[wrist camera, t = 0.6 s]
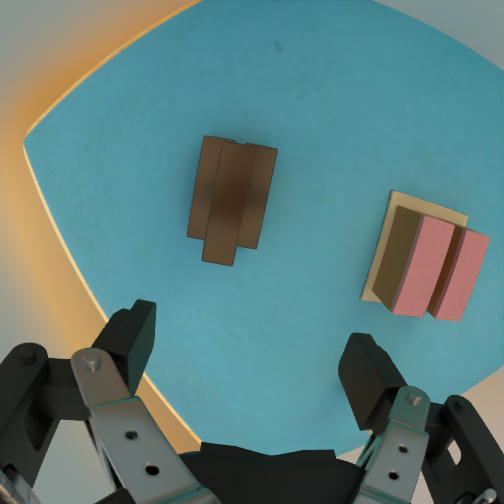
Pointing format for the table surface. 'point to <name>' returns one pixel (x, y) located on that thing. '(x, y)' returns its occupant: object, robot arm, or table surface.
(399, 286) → the pink slotted holder
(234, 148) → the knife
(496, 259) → the table surface
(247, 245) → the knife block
